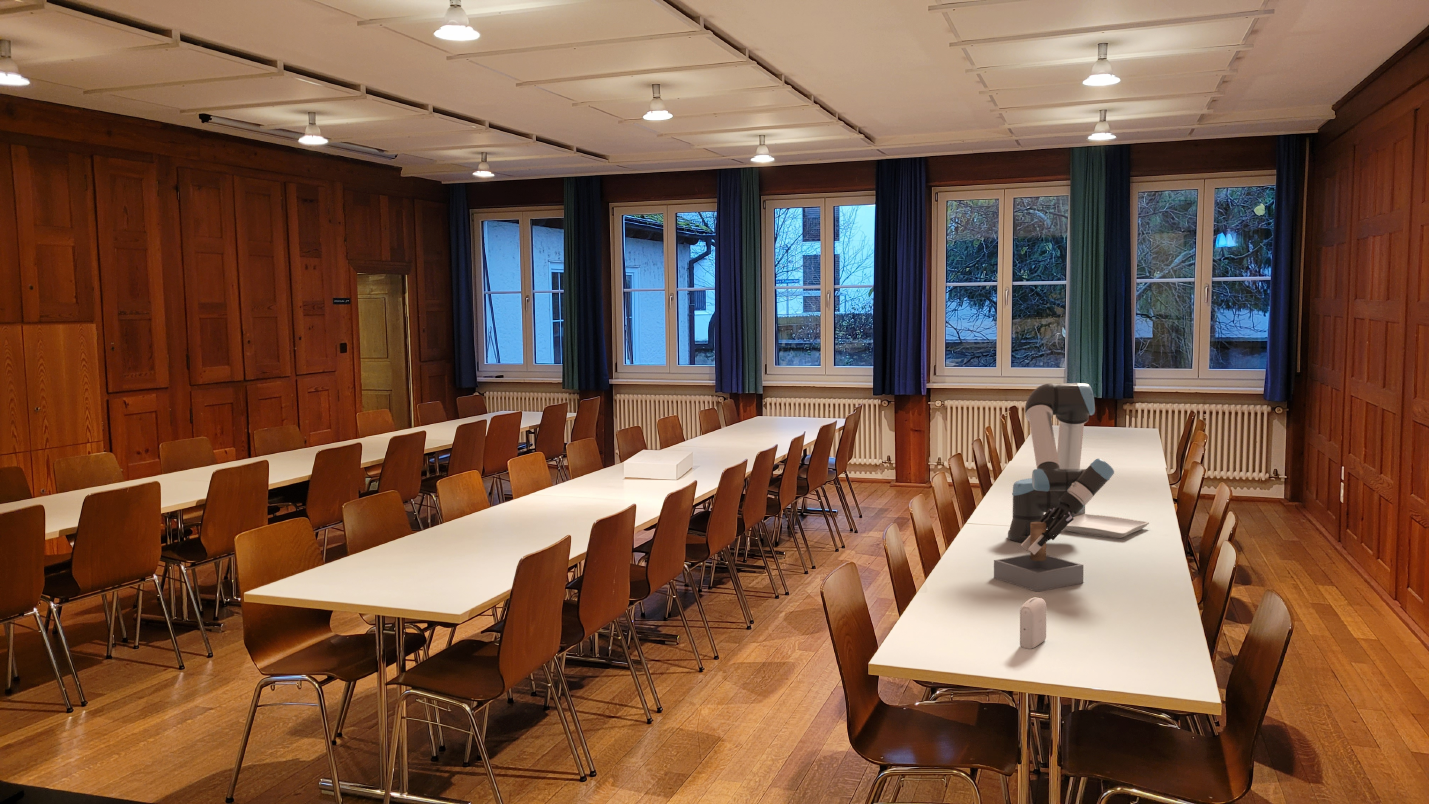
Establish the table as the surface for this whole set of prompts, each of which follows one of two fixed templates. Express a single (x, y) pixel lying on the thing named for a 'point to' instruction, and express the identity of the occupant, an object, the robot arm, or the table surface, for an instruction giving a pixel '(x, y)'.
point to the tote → (1038, 572)
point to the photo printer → (1032, 623)
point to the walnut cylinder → (1035, 532)
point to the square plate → (1104, 525)
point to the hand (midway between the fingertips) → (1027, 549)
